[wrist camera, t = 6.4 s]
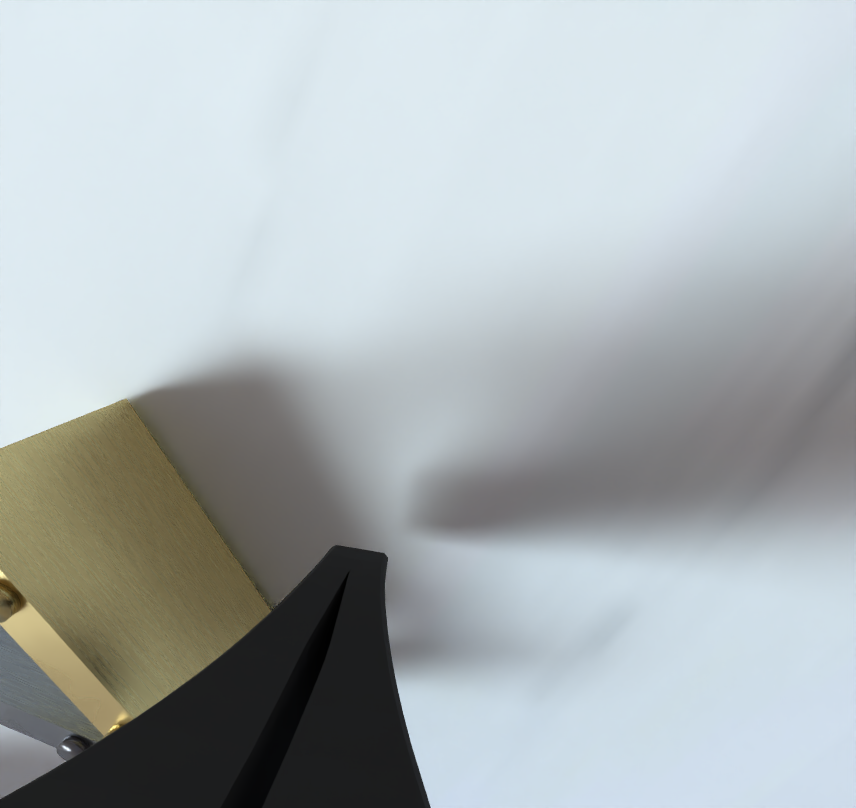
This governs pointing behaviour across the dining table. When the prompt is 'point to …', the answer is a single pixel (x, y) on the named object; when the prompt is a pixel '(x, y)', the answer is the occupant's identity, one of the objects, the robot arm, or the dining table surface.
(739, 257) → the dining table surface
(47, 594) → the brass leaf
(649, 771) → the dining table surface
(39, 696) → the hinge base
